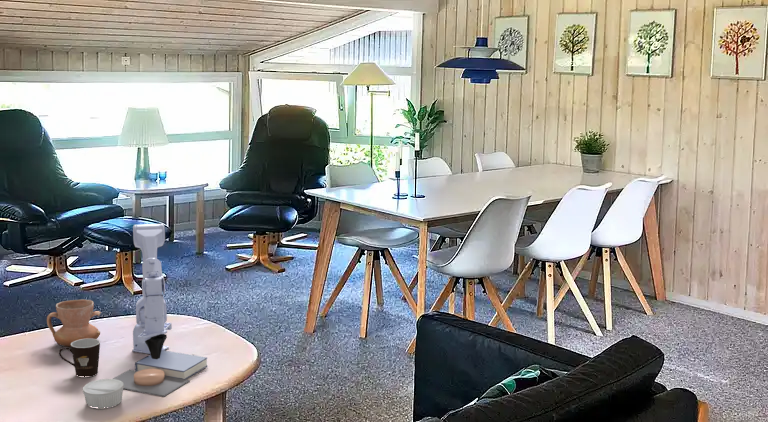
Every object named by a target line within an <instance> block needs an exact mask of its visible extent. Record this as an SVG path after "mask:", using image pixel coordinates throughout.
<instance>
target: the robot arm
mask: <svg viewBox="0 0 768 422" xmlns="http://www.w3.org/2000/svg"><path fill="white" fill-rule="evenodd" d="M165 229H166V228H165V224H164V223H153V224H151V223H150V224H149V223H146V224H133V226H132V231H133V232H132V235H133V236H132V237H133V245H134V247H135V248H137V249H140V250H141V253H142V263H141V264H142V265H141V266H142V267H141V269H142V280H141V289H142V290H141V291H142V292H141V293H142V296H141V298H139V299H138V300H137V301H136V302H135V320H136V321H135V323H136V325H134V327H133V330H132V340H133V341H132V345H133V348H132V350H131V351H132V352H135V353H142V354H147V355H151V357H152V359H159V358H160V355H161V350H165V351H167V349H169V348H170V346H168V345H164V344H165V341H166V339H167V338H168V337H167V333H168V331H170V330H172V329H173V328H172V322H167V320H168V315H167V305H166V304H167V303H166V300H165V299H164V295H165V294H166V286H165V285H166V284H165V283H166V282H165V278H164V274H163V269H162V267H163V266H162V261H160V259H158V248H160V247H162V246H164V244H165V241H166V231H165Z"/></svg>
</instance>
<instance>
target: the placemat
mask: <svg viewBox="0 0 768 422" xmlns="http://www.w3.org/2000/svg"><path fill="white" fill-rule="evenodd" d="M136 372H138V371H135V369H129V370H126V371H124V372H123V373H121V374H119V375H117V376H114V377H113V378H112V379H116V380H120V381H122V382H123V384H124V388H123V390H125V389H127V391H131V390H132V391H131V392H136V391H137V392H138V393H143V394H148V395H151V396H152V395H153V396H158V397H166V396H169V395H170V394H171V393H173V392H174V391H177V390H178V389H179V388H181V387H183V386H184V385H186V384H188V383H189V382H190V379H180V378H175V377H169V376H165V380H164V381H163V382H162V383H160V384H157V385H153V386H140V385H137V384H135V383H134V374H135V373H136Z"/></svg>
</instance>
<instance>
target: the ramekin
mask: <svg viewBox="0 0 768 422" xmlns="http://www.w3.org/2000/svg"><path fill="white" fill-rule="evenodd" d="M123 388H124V384H123V382H122V381H120V380H116V379H113V378H101V379H97V380H92V381H90V382H87V383H86V384H85V385H83V387H82V393H83V396H84V400H85V403H87V404H88V405H89V406H92V407H98V408H104V407H105V408H107V407H112V406H115V405H117V404H118V405H119V404H121V402H122V400H123V393H124V389H123ZM87 404H86V405H87ZM88 405H87V406H88ZM118 405H117V406H118ZM89 406H88V407H89ZM115 407H116V406H115ZM112 408H113V407H112Z"/></svg>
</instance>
